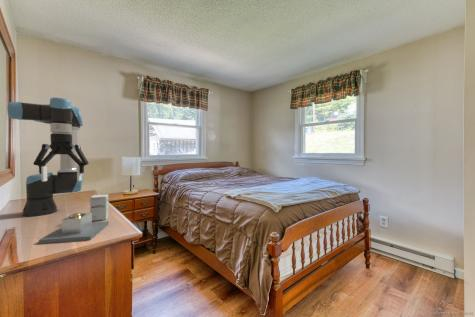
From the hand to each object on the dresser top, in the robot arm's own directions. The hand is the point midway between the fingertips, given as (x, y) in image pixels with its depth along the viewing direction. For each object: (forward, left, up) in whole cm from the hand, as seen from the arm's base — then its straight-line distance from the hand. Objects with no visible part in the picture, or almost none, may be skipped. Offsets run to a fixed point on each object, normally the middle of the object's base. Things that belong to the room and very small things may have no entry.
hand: (62, 180), depth 98 cm
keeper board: (+3, +8, -23) cm, 24 cm away
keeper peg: (+3, +8, -21) cm, 23 cm away
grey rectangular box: (+3, +7, -21) cm, 23 cm away
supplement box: (-18, +9, -23) cm, 30 cm away
